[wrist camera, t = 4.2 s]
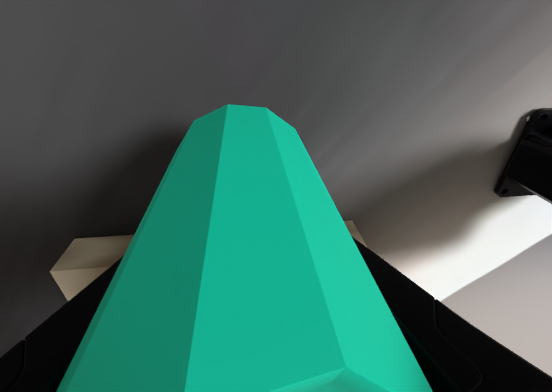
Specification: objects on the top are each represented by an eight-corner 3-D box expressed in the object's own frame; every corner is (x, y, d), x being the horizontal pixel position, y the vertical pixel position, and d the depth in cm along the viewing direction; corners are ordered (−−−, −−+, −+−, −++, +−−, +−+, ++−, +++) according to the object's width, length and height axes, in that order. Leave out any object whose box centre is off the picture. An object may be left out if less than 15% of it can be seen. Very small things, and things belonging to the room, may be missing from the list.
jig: (352, 220, 21) (367, 246, 18) (329, 338, 30) (337, 367, 27) (74, 238, 19) (49, 271, 16) (136, 359, 28) (125, 393, 25)
